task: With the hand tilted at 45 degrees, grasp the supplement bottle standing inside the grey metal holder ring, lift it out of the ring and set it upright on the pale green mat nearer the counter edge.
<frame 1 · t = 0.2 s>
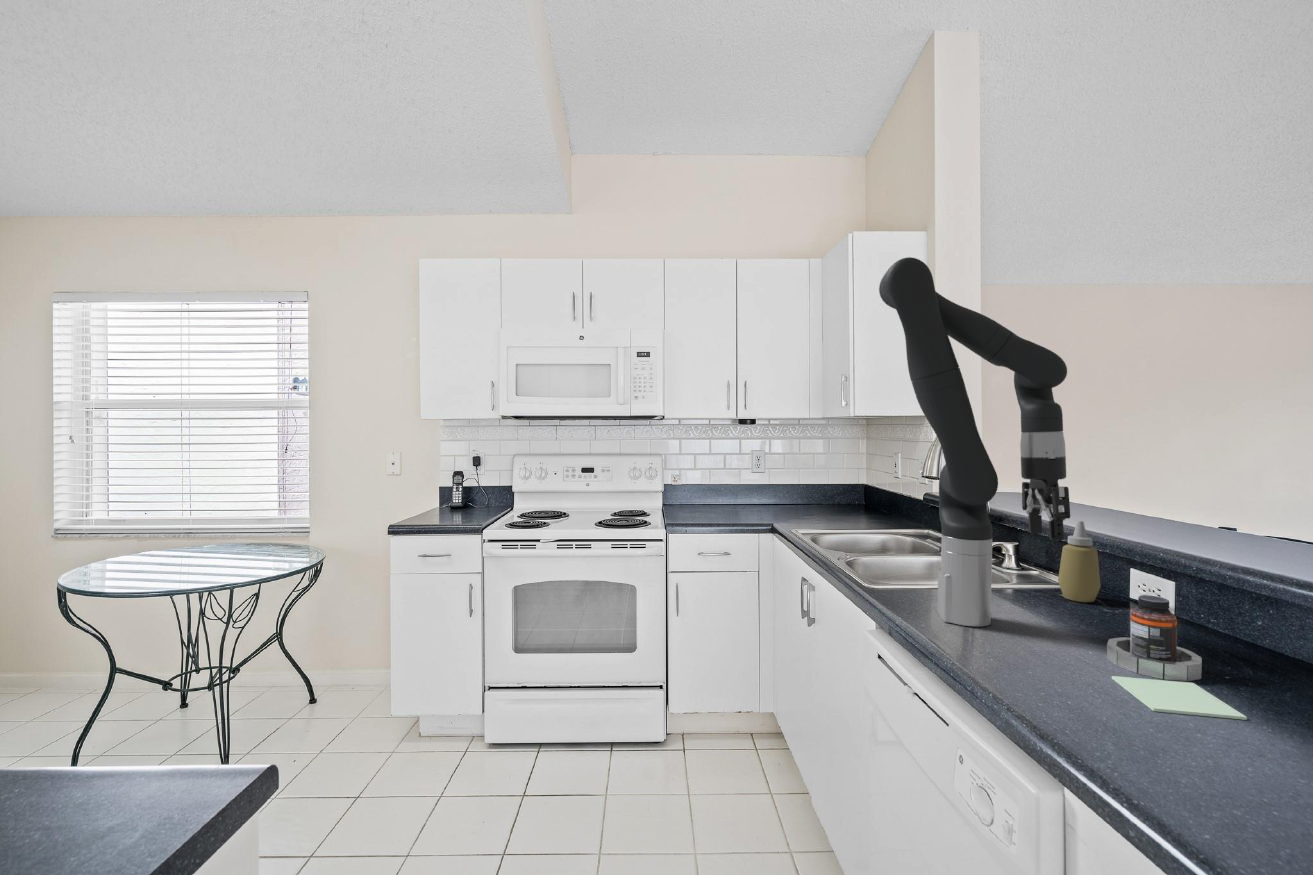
hand: (1045, 536, 118), 18 cm above the worktop, tool pointing down, fingers open, 8 cm apart
squeeze bottle: (1078, 600, 137), on the worktop
holder ring: (1152, 665, 100), on the worktop
supplement bottle: (1152, 666, 100), resting in holder ring
mat: (1174, 697, 88), on the worktop
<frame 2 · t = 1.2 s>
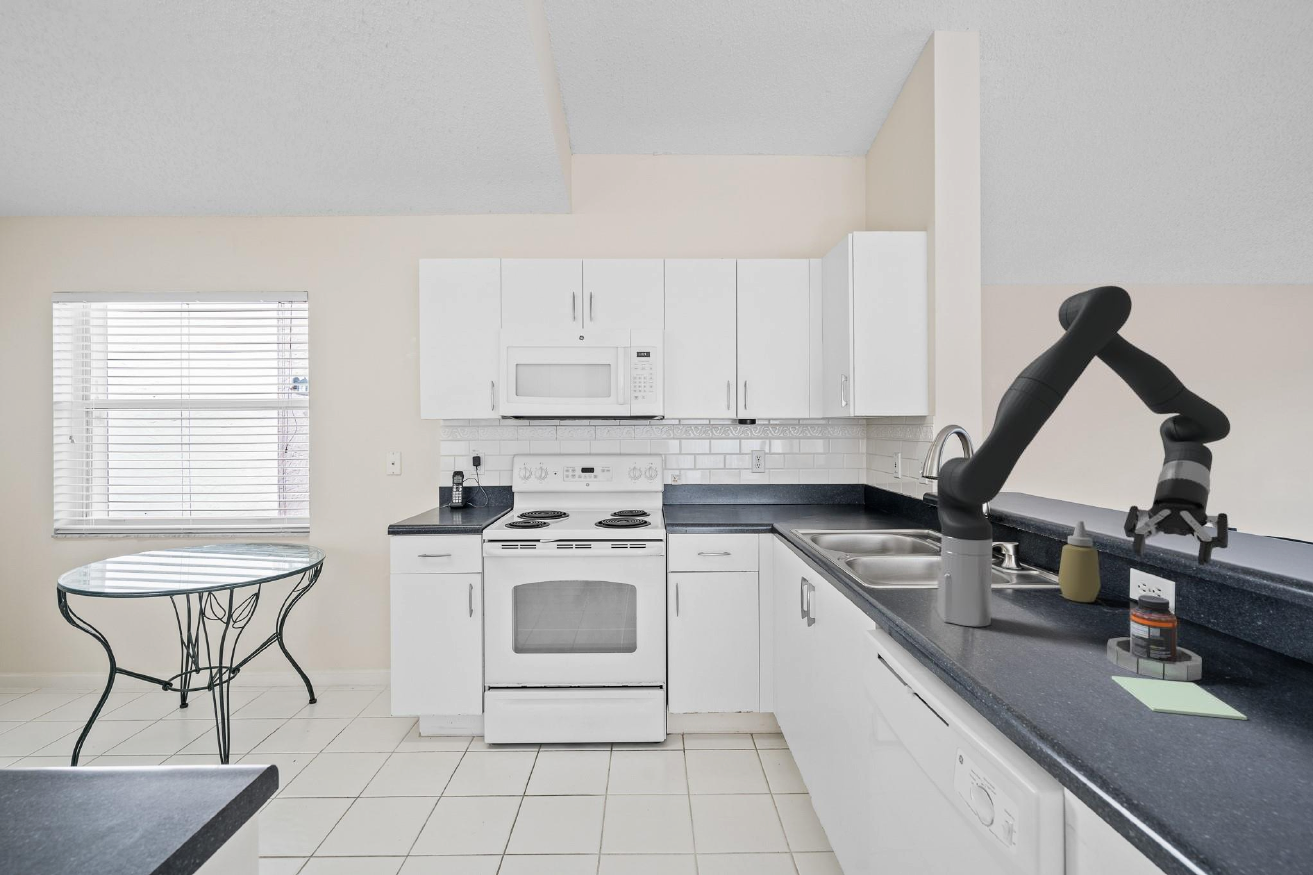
hand: (1169, 558, 107), 16 cm above the worktop, tool tilted 45°, fingers open, 8 cm apart
nothing on the worktop moved.
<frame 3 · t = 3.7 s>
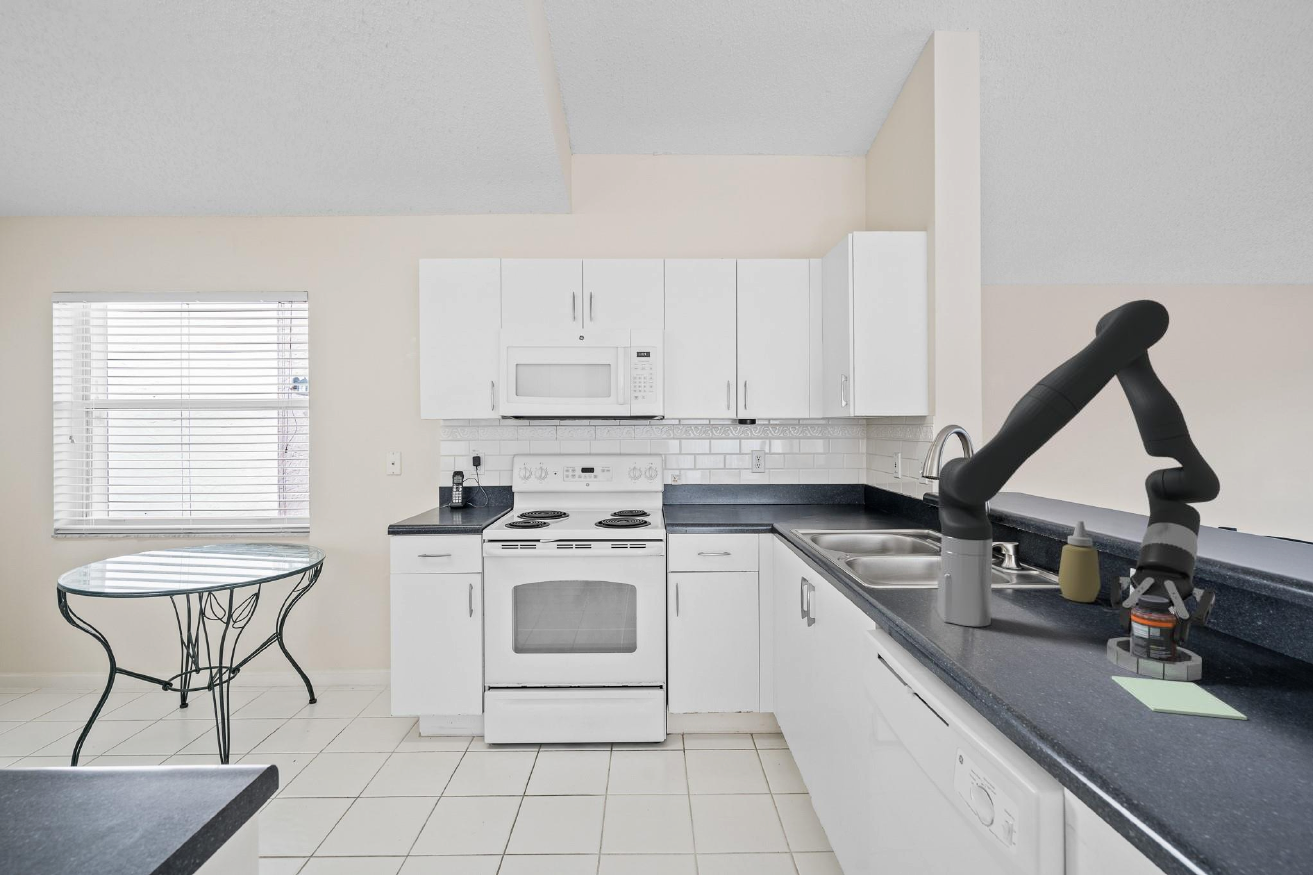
hand: (1151, 636, 98), 5 cm above the worktop, tool tilted 45°, fingers closed on supplement bottle, 6 cm apart
supplement bottle: (1152, 666, 100), resting in holder ring, touching gripper
everything else where it was.
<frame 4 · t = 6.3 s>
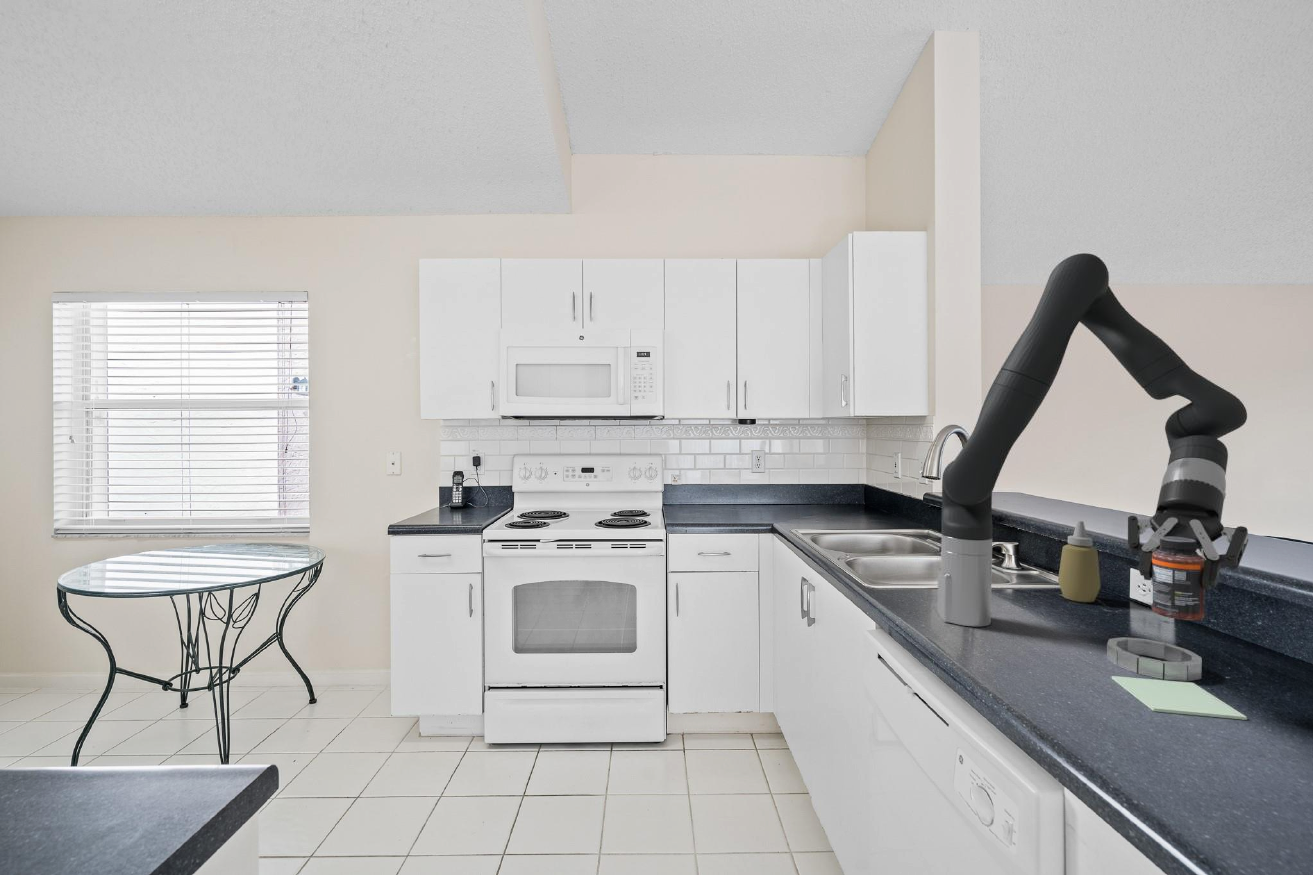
hand: (1175, 581, 86), 17 cm above the worktop, tool tilted 45°, fingers closed on supplement bottle, 6 cm apart
supplement bottle: (1176, 616, 88), point 12 cm above the worktop, touching gripper
everything else where it was.
when the fingers open (7 cm above the worktop, at t = 8.8 s): supplement bottle stays where it is, resting on mat.
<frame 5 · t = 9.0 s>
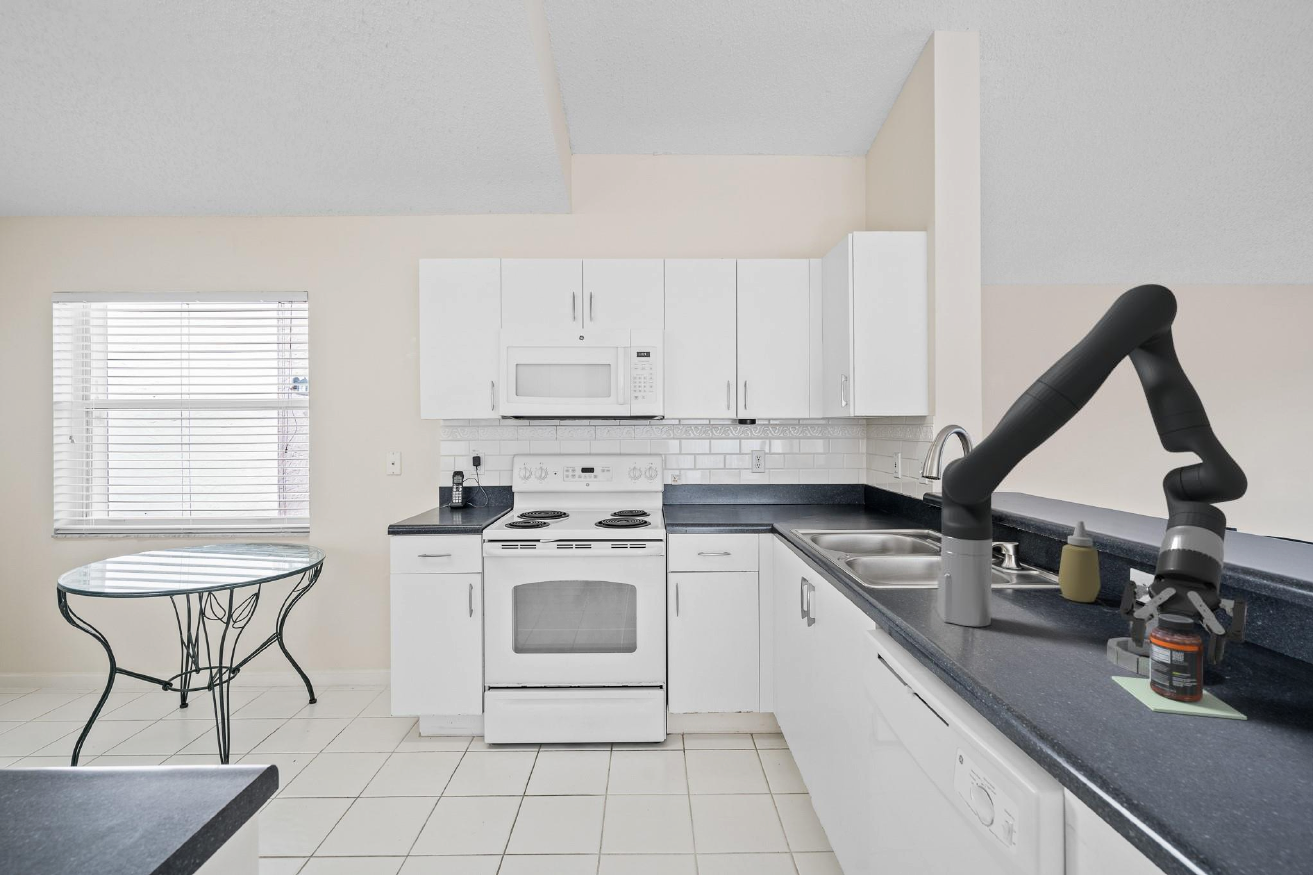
hand: (1173, 652, 87), 7 cm above the worktop, tool tilted 45°, fingers open, 7 cm apart
supplement bottle: (1175, 695, 88), resting on mat
everything else where it was.
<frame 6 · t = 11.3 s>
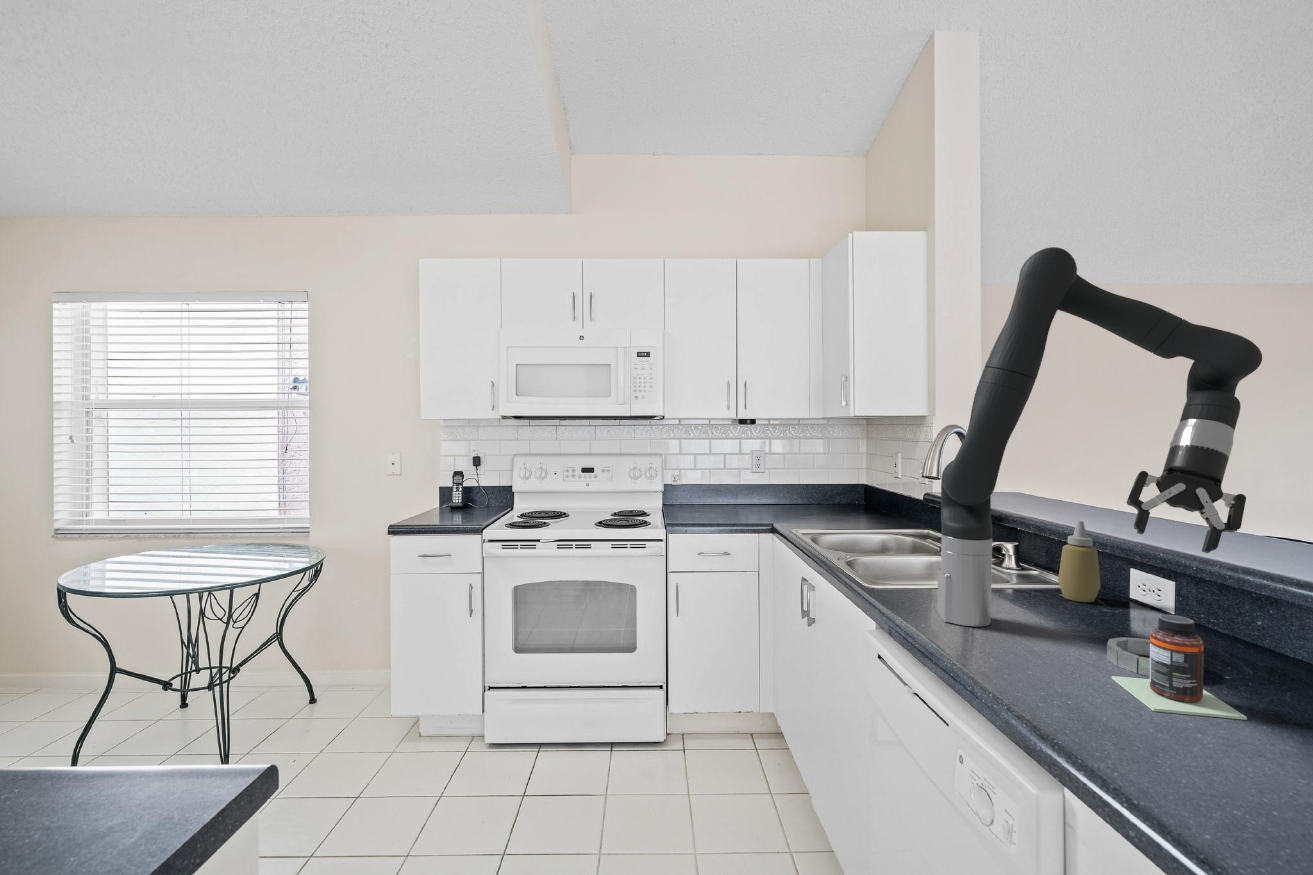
hand: (1172, 542, 98), 21 cm above the worktop, tool tilted 25°, fingers open, 8 cm apart
nothing on the worktop moved.
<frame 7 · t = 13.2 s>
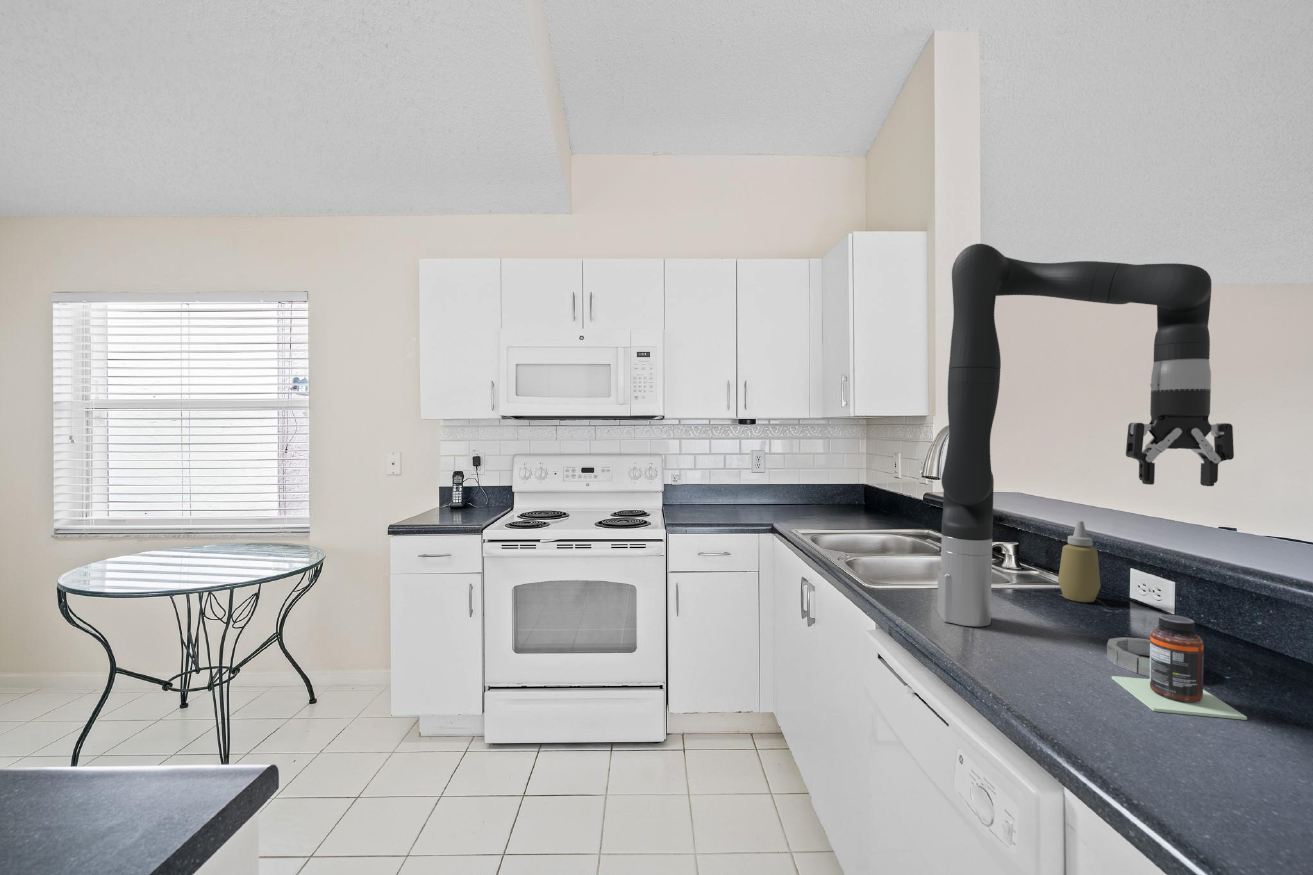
hand: (1177, 485, 100), 30 cm above the worktop, tool pointing down, fingers open, 8 cm apart
nothing on the worktop moved.
at the end: supplement bottle inside the target area on the mat (0.2 cm from its centre), point 0.2 cm above the mat's base; supplement bottle tilted 0°; the gripper is holding nothing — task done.
